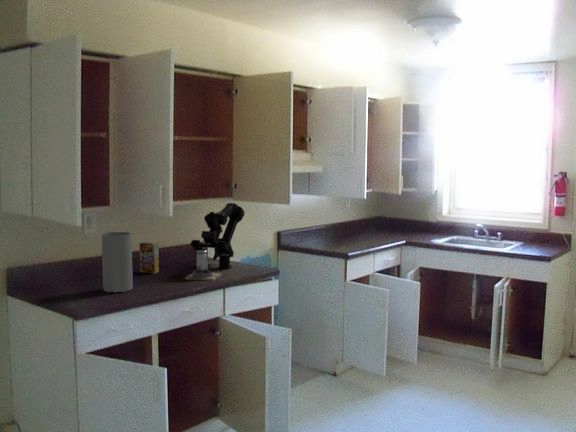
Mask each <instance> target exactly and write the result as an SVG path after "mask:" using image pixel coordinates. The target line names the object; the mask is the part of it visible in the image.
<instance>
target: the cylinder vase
mask: <svg viewBox="0 0 576 432" xmlns="http://www.w3.org/2000/svg"><path fill="white" fill-rule="evenodd" d="M132 234H133V233H132V232H128V231H127V232H126V231H113V232H103V233H101V255H102V256H101V257H102V259H101V260H102V261H101V262H102V290H103V291H104V292H105V291H106V293H109V292H114V293H113V294H115V293H116V294H118V293H117V292H122V293H126V292H130V291H131V290H133V288H134V287H133V285H134V283H133V248H132V246H133V245H132V242H133V240H132V238H133V237H132Z"/></svg>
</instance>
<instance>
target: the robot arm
mask: <svg viewBox="0 0 576 432" xmlns="http://www.w3.org/2000/svg"><path fill="white" fill-rule="evenodd" d="M244 216H245V211H244V208H242V206H240V205H238V204H237V203H235V202H227V203H226V205H225V206H224V207H223V208H222V209H221V210H220V211H219V212H214V211H210V212H209V213H207V214H205V216H204V217H203V219H204V221H205V224H206V225H207V228H209V231H208V230H207V231H206V230H202V231H201V236H200V237H201V239H203V242H201V241H200V240H199V239H191V242H190V246H191V247H192V249H193V251H194V252H195V253H194V254H195V260H196V261H197V253H196V251H197V250H203V248H209V249H214V251H213V252H214V255H213V258H212V261H213V262H215V261H216V260H217V259H218V266H217V267H216V269H220V270H221V269H223V270H229V269H231V268H232V267H233V266H232V265H231V258H233V257H234V253H235V252H234V250H233V247H232V244H231V242H232V239H233V236H234V233H235V231H236V228H237V225H238V223H239V222H241V221H242V220H243V219H244ZM228 218H229V219H228ZM222 226H226V227H225V230H224V233H223V228H222ZM221 233H223V235H222V237H220V236H221Z"/></svg>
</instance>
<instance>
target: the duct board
mask: <svg viewBox="0 0 576 432" xmlns="http://www.w3.org/2000/svg"><path fill="white" fill-rule="evenodd" d="M221 276H223V272H212V276H211V277H208V278H195V277H193V273H191V274H189V275H187V276H185V277H184V278H185V280H194V281H210V282H212V281H215V280H216V279H218V278H220V277H221Z"/></svg>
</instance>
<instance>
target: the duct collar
mask: <svg viewBox="0 0 576 432" xmlns="http://www.w3.org/2000/svg"><path fill="white" fill-rule="evenodd" d="M212 273H213V272H212V271H211V270H208V273H203V274H200V273H197V270H194V271H192V274H193V277H195V278H208V277H211V276H212Z"/></svg>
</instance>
